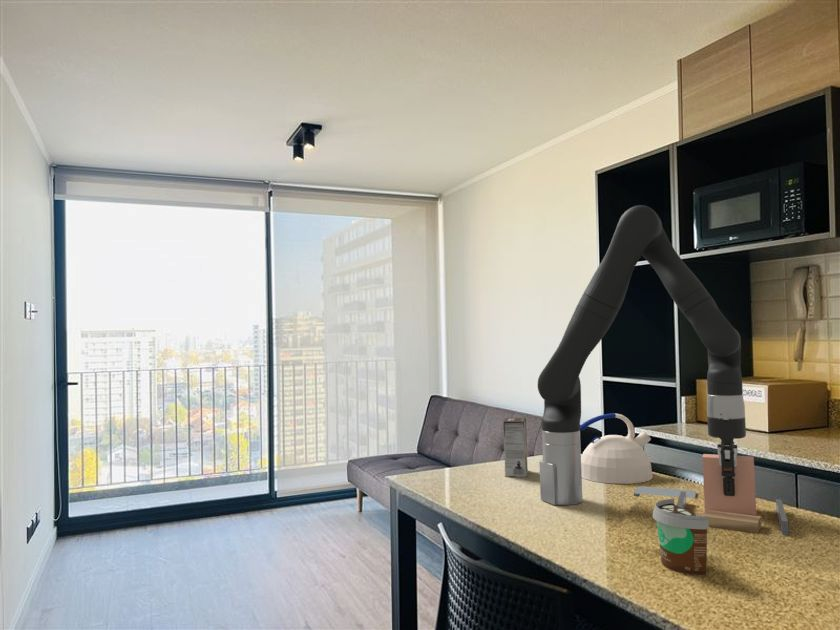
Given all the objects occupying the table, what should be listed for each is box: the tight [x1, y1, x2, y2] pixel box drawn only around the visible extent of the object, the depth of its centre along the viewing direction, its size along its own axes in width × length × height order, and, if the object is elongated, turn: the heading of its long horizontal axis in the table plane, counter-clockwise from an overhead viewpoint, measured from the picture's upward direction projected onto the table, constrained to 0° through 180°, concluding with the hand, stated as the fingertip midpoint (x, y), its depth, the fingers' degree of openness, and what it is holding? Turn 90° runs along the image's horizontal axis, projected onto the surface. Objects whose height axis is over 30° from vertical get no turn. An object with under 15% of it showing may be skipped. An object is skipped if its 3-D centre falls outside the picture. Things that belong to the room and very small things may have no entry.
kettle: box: [580, 412, 653, 485], centre depth 179 cm, size 20×21×18 cm
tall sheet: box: [702, 453, 757, 516], centre depth 136 cm, size 4×10×13 cm, turn 63°
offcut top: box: [701, 510, 762, 534], centre depth 125 cm, size 5×10×2 cm, turn 56°
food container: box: [652, 498, 710, 576], centre depth 108 cm, size 12×6×10 cm, turn 5°
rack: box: [676, 491, 790, 537], centre depth 131 cm, size 18×20×4 cm
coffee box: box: [502, 417, 528, 478], centre depth 185 cm, size 9×6×16 cm
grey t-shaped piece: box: [633, 485, 697, 499], centre depth 156 cm, size 8×14×1 cm, turn 63°
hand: (729, 491), depth 136 cm, fingers open, 5 cm apart
